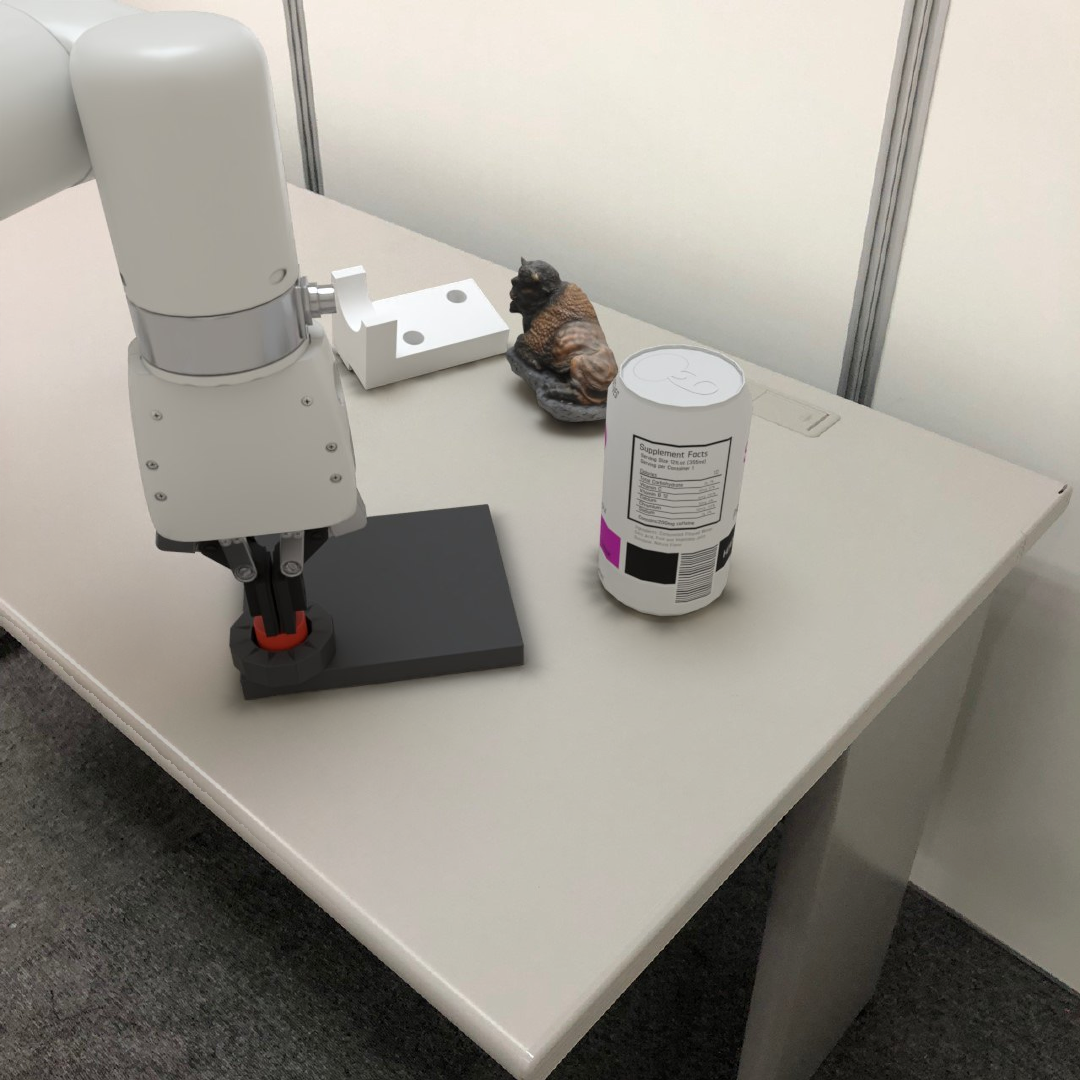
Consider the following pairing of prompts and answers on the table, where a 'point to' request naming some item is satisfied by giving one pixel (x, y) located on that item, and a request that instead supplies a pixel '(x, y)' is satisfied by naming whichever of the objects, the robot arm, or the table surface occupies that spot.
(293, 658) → the scale
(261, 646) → the tare button
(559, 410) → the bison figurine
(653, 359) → the supplement can
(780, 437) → the table surface
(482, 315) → the bracket
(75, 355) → the table surface
